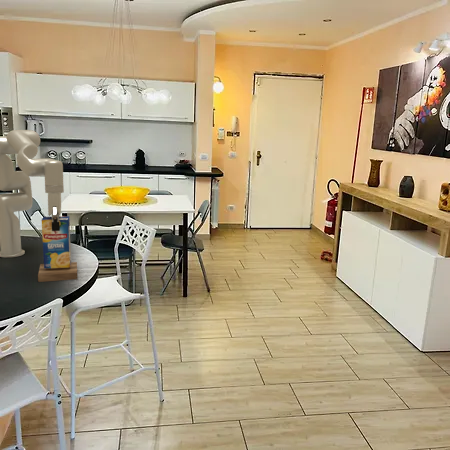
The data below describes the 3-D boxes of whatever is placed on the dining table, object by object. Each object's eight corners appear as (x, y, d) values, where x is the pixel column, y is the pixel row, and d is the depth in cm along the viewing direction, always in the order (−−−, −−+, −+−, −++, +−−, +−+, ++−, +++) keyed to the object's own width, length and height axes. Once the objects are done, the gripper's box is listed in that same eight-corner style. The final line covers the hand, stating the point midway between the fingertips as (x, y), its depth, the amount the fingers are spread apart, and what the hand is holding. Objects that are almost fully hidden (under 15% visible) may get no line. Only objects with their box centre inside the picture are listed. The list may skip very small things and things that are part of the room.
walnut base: (40, 270, 204) (40, 264, 203) (77, 268, 209) (76, 262, 208) (38, 281, 189) (37, 275, 188) (77, 279, 194) (77, 272, 193)
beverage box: (70, 267, 196) (68, 219, 191) (43, 268, 194) (41, 219, 189) (71, 262, 203) (69, 216, 198) (45, 263, 200) (43, 216, 195)
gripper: (46, 186, 197) (48, 224, 201) (43, 192, 181) (46, 233, 185) (64, 186, 200) (65, 224, 204) (63, 192, 184) (64, 233, 188)
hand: (56, 228), depth 194 cm, fingers closed on beverage box, 7 cm apart
